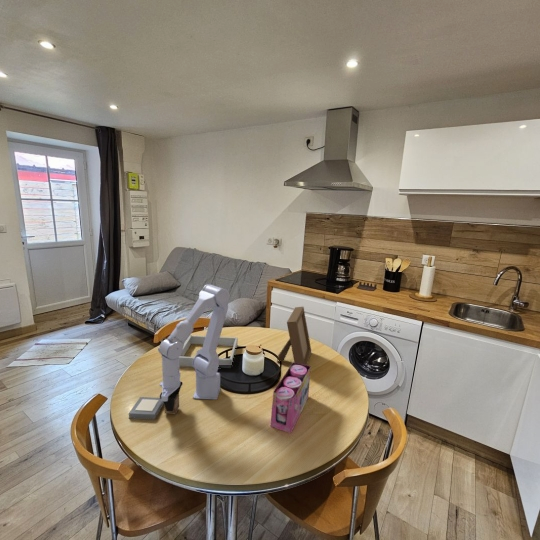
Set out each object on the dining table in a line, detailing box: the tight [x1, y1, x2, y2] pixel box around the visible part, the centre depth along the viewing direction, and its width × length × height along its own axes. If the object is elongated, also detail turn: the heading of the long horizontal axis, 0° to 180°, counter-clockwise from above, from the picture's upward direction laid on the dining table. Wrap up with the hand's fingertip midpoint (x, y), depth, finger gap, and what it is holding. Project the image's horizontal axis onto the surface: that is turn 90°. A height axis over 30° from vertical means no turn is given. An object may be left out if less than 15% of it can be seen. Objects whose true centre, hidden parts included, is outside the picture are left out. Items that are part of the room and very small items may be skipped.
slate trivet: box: [128, 396, 164, 420], centre depth 106 cm, size 9×9×2 cm
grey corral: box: [179, 334, 238, 368], centre depth 147 cm, size 26×24×4 cm
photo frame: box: [276, 306, 312, 366], centre depth 145 cm, size 15×22×25 cm
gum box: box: [270, 361, 311, 434], centre depth 108 cm, size 24×8×14 cm, turn 158°
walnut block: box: [163, 393, 180, 415], centre depth 106 cm, size 4×4×5 cm
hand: (172, 406), depth 106 cm, fingers closed on walnut block, 4 cm apart
